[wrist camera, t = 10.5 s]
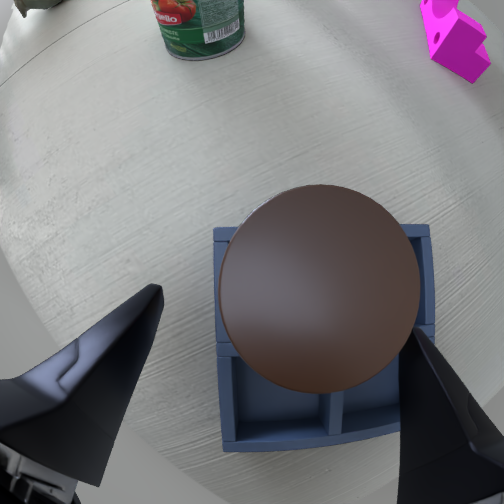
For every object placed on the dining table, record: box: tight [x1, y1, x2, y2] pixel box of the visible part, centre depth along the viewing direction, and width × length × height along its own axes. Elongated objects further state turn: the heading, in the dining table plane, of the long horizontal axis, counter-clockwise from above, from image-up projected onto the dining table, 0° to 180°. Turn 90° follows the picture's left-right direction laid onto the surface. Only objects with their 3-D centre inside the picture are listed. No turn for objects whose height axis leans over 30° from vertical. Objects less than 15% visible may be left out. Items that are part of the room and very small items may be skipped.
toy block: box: [420, 0, 491, 84], centre depth 19 cm, size 15×6×8 cm, turn 163°
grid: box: [213, 224, 435, 452], centre depth 17 cm, size 13×13×4 cm
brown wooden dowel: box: [218, 184, 420, 394], centre depth 12 cm, size 4×4×13 cm
